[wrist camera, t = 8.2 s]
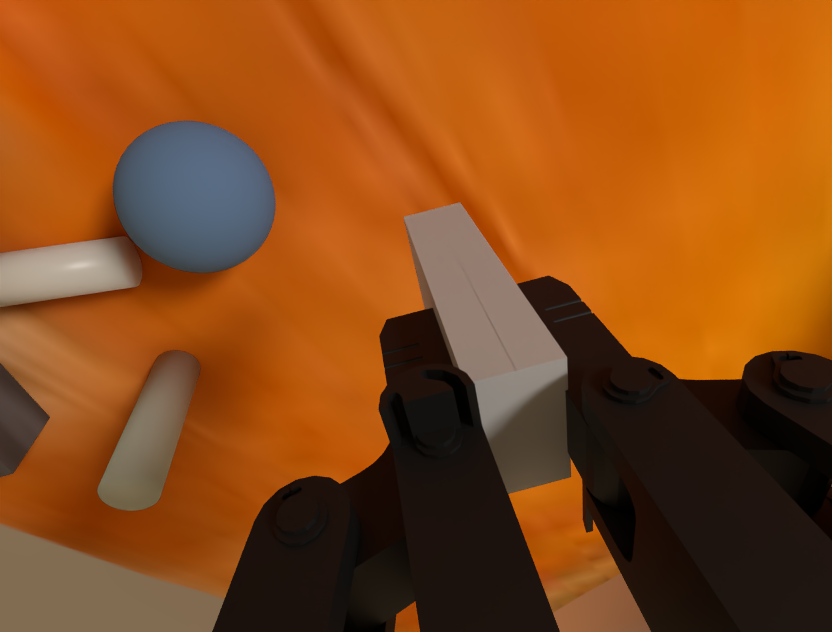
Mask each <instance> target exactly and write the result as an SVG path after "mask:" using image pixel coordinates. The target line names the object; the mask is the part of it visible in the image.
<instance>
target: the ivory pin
mask: <svg viewBox="0 0 832 632" xmlns="http://www.w3.org/2000/svg"><path fill="white" fill-rule="evenodd" d="M141 280H142V264H141V259H140V257H139V254H138V252H137V250H136V248H135V245H134V244H133V242H132V241H131V240H130V239H129V238H127V237H125V236H120V237H113V238H106V239H98V240H91V241H84V242H76V243H69V244H62V245H55V246H47V247H40V248H33V249H26V250H18V251H11V252H4V253H0V307H4V306H11V305H18V304H24V303H31V302H38V301H44V300H51V299H58V298H65V297H71V296H78V295H85V294H92V293H98V292H105V291H112V290H119V289H125V288H132V287H137V286H139V284H140V283H141Z"/></svg>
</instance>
